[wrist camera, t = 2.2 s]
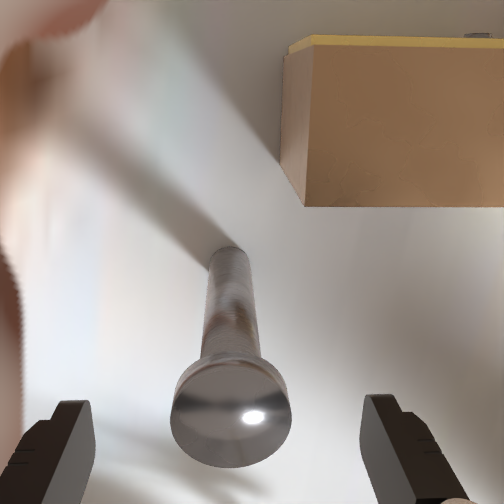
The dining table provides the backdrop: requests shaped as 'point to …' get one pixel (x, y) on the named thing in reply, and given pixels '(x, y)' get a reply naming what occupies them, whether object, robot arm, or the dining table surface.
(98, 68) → the dining table surface
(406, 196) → the hinge block
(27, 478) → the robot arm
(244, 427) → the hinge pin
